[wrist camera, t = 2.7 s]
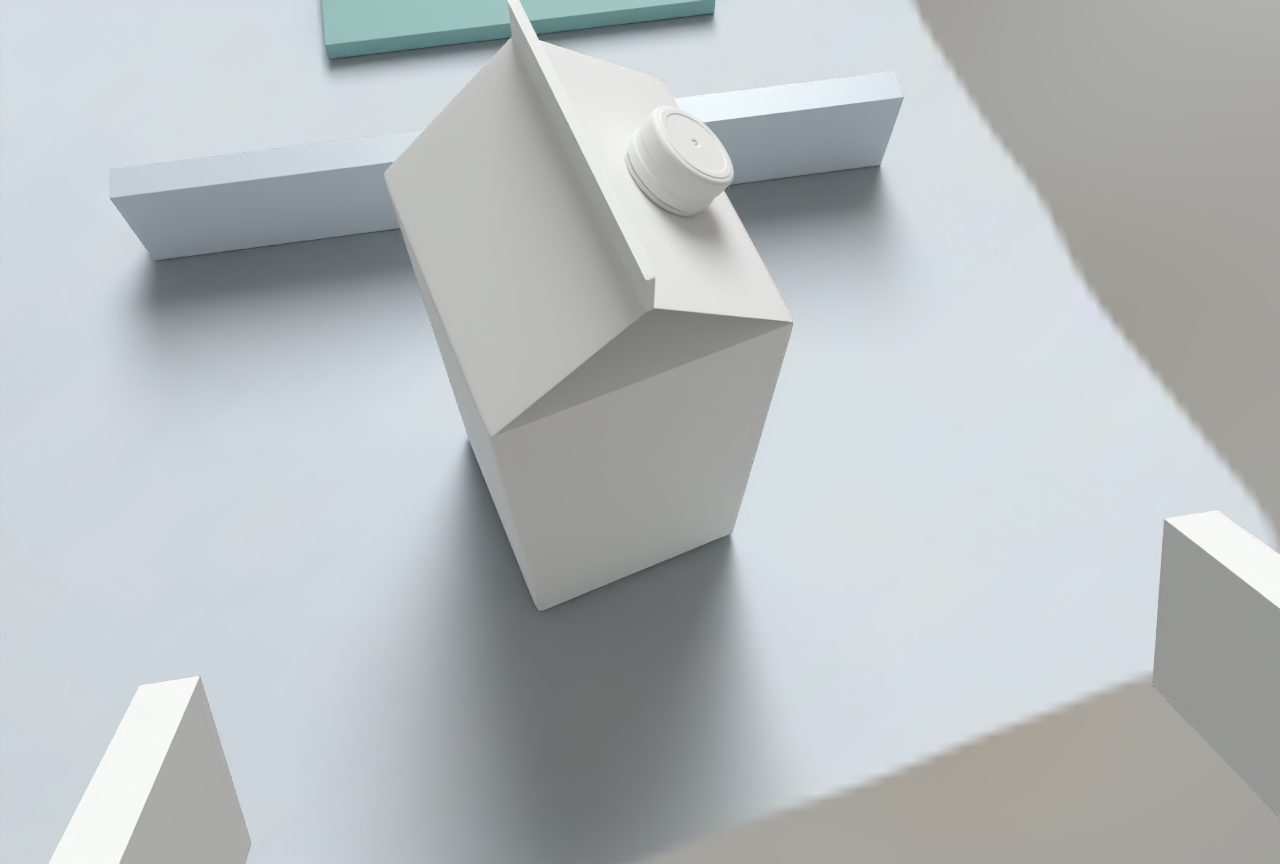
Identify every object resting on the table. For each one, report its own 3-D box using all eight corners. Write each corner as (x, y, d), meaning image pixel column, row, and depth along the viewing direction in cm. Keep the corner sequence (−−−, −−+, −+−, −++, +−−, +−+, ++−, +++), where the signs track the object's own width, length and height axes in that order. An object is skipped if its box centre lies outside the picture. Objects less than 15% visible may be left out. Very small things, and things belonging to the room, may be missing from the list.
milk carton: (538, 615, 37) (463, 348, 19) (465, 432, 39) (340, 49, 22) (734, 534, 38) (830, 215, 20) (651, 362, 40) (673, -54, 23)
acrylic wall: (154, 260, 42) (109, 197, 38) (155, 233, 42) (110, 169, 39) (880, 165, 44) (903, 97, 40) (872, 140, 44) (895, 70, 41)
